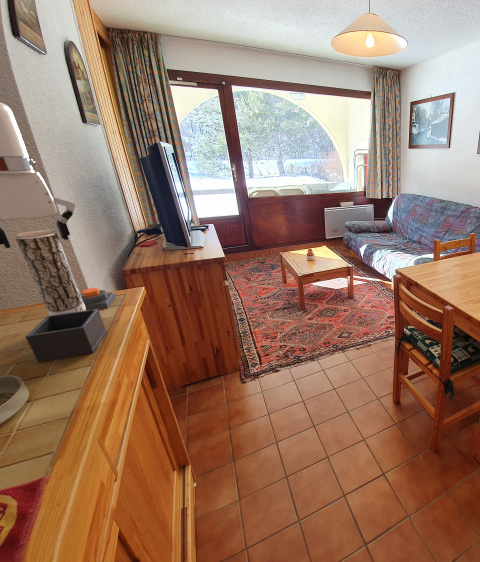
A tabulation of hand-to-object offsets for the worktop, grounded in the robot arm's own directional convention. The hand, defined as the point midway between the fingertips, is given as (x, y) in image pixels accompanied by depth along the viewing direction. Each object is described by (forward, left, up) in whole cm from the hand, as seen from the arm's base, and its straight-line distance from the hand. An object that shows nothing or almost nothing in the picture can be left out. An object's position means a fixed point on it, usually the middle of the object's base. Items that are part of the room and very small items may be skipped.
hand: (37, 242), depth 73 cm
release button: (+1, +13, -20) cm, 23 cm away
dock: (+4, -12, -23) cm, 26 cm away
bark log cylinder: (0, 0, -23) cm, 23 cm away
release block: (+1, +13, -23) cm, 26 cm away
